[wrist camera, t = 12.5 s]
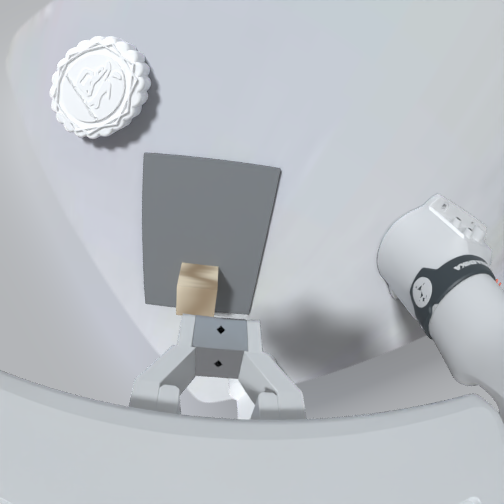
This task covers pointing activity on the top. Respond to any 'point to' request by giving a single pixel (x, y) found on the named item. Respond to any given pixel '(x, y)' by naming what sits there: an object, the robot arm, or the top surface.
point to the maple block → (197, 289)
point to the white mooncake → (99, 86)
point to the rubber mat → (205, 224)
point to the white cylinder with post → (242, 397)
